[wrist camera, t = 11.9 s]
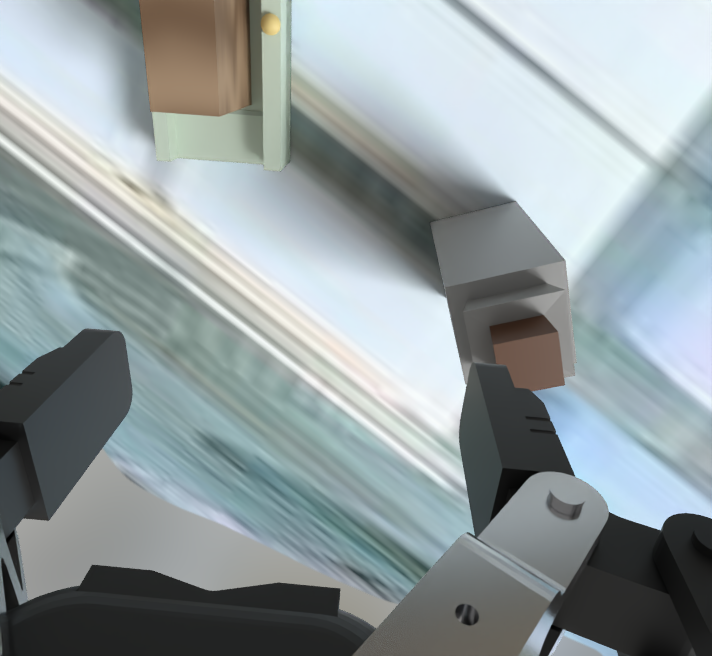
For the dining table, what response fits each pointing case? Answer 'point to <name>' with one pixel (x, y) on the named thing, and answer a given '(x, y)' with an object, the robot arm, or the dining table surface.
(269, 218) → the dining table surface
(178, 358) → the dining table surface
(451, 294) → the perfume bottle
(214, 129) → the ledge
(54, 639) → the robot arm
